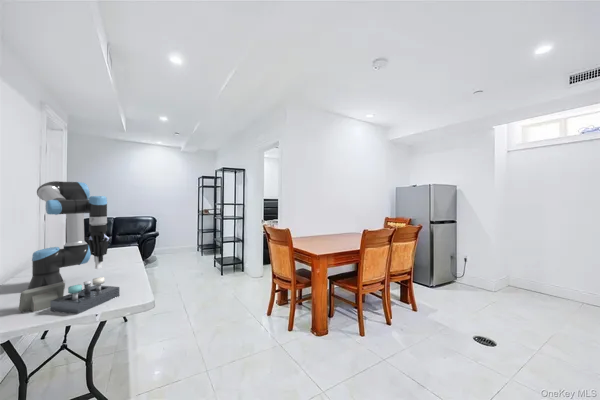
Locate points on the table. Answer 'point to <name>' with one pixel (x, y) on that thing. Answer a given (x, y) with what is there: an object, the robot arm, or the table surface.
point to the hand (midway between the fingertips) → (98, 268)
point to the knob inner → (98, 283)
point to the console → (84, 300)
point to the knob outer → (75, 291)
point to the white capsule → (87, 287)
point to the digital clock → (40, 297)
